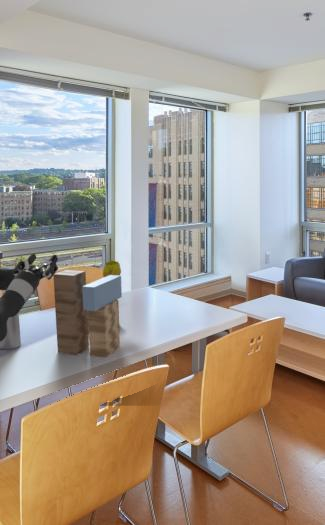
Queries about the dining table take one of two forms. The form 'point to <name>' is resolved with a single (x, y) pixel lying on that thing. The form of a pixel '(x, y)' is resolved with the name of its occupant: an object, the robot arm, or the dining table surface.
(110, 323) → the step
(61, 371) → the dining table surface
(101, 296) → the rail
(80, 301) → the pedestal
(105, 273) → the flower
